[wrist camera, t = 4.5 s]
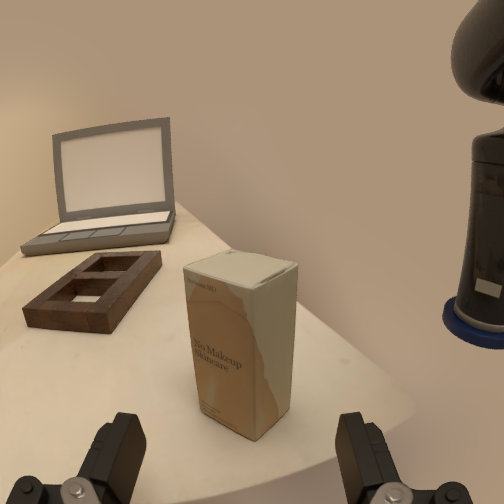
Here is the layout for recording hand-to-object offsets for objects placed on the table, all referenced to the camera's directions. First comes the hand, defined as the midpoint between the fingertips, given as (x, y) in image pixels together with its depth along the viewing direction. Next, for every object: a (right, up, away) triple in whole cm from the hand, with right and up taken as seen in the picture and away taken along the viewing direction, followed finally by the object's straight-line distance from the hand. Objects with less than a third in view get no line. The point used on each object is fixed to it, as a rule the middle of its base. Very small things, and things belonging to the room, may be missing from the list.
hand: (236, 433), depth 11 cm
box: (0, -4, +10) cm, 11 cm away
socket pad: (-20, +1, +30) cm, 37 cm away
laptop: (-35, +11, +63) cm, 73 cm away
